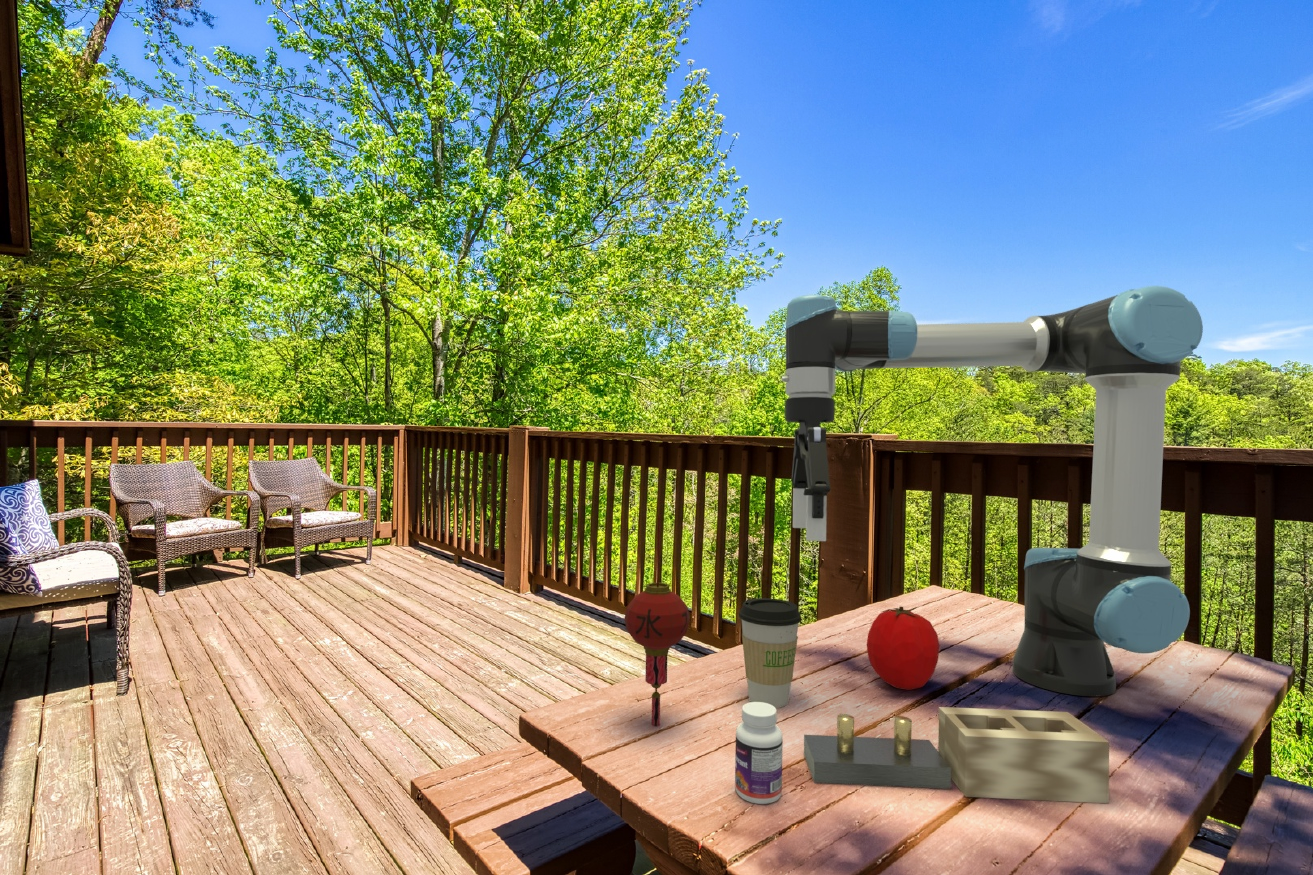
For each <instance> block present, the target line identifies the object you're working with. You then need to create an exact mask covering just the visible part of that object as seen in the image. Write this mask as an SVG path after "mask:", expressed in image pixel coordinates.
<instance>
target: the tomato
mask: <svg viewBox="0 0 1313 875" xmlns="http://www.w3.org/2000/svg"><path fill="white" fill-rule="evenodd" d="M917 608H918V606H915V607H913V608H911V609H904V606H899V607H895V608H891V609H890V608H889V609H885V610H883V611H881V612H879V614H878V615H877V616H876V618H874V620H873V622H872V623H871V626H870V629H869V630H868V633H867V640H866V651H867V657H868V659H869V662H870V665H871V667H872V669H873V670H874V672H875V673H876V674H877V676H878V677H880V679H882V680H883V681H884V682H885V683H887V684H888V685H890V686H892V687H894V688H896V689H901V690H906V691H911V690H915V689H919V688H923V687H924V686H925V685H926V683H928V682H929V680H930V679H931V677H932V676H933V675H934V673H935V671H936V667H937V665H938V663H939V654H940V642H939V636H938V633H937V631H936V629H935V628H934V626H933V625H932V623H931V621H930V620H928V619H927V618H925V617H923V616H921V615H920V614H918V613H915V612H912V611H914V610H915V609H917Z"/></svg>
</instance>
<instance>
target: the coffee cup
mask: <svg viewBox="0 0 1313 875" xmlns="http://www.w3.org/2000/svg"><path fill="white" fill-rule="evenodd" d="M738 618H739V619H740V620H741V629H742V631H741V638H742V639H741V640H742V649H743V660H744V668H745V677H746V679H747V680H746V682H747V690H748V691H747V692H748V693H747V694H748V700H749V702H764V703H768V704H770V705H772V706H774V707H775V708H776V709H778V708H783V707H786V706H787V705H788V704H789V700H790V695H791V694H790V692H791V684H792V681H793V676H794V668H795V663H796V662H795V661H796V655H797V646H798V629H799V628H798V627H799V624H800V623H801V622H802V615H801V613H800V612H799V608H798V605H797V604H796V603H794V602H791V601H789V600H784V599H781V598H780V599H779V598H768V597H767V598H766V597H764V598H763V597H762V598H761V597H759V598H758V597H757V598H750V599H747V600H745V601H743V603H742V607H741V608H740V610H739V611H738Z"/></svg>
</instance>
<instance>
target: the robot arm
mask: <svg viewBox="0 0 1313 875" xmlns="http://www.w3.org/2000/svg"><path fill="white" fill-rule="evenodd" d="M786 307H787V308H786V319H785V320H786V321H785V328H784V331H785V374H786V375H782V376H781V382H783V383H784V382H785V395H786V396H788V397H789V398H786V400H784V421H786V422H787V423H794V424H795V423H797V424H799V426H798V428H795V429H794V433H793V434H794V446H793V458H792V459H793V460H792V467H791V468H792V470H791V478H790V481H791V484H792V487H793V489H792V528H794V529H805V530H806V531H805V533H806V535H805V540H806V541H807V542H826V541H827V505H828V504H827V501H828V500H827V496H828V493H830V491H831V488H832V487H831V485H830V484H831V483H830V471H829V462H828V460H829V459H828V450H827V429H826V428H827V427H826V426H825V427H824V426H821V424H826V423H827V424H828V423H833V422H834V421H835V413H836V412H835V410H836V409H835V408H836V407H835V405H836V404H835V400H834V398H832V396H833V395H835V394H836V371H839V372H854V371H856V370H872V369H873V370H874V369H875V370H876V369H906V368H907V369H912V368H922V369H923V368H960V367H961V368H966V367H968V368H969V367H971V368H972V367H975V368H977V367H978V368H979V367H1022V369H1023V370H1024V371H1026V372H1055V373H1073V374H1084V377H1085V378H1084V380H1085V382H1087V383H1088V384H1089V385H1090V386H1091V387H1092V388H1093V389H1094V390H1095V409H1094V412H1095V413H1094V430H1093V452H1092V469H1091V470H1092V471H1091V472H1092V473H1091V490H1090V491H1091V494H1090V510H1089V512H1090V515H1089V516H1090V518H1089V533H1088V534H1089V535H1088V542H1087V544H1085V545H1084V546H1082V547H1081V548H1070V547H1069V548H1067V547H1065V548H1063V547H1033V548H1030V549H1028V550H1027V551H1026V554H1025V561H1024V566H1023V570H1024V629H1023V632H1022V635H1021V638H1020V640H1019V643H1018V645H1017V648H1016V650H1015V653H1014V655H1013V657H1012V672H1013V674H1014V676H1015V677H1016V678H1018V679H1020V680H1022V681H1023V682H1025V683H1028V684H1030V685H1033V686H1036V687H1039V688H1041V689H1044V690H1049V691H1051V692H1057V693H1060V694H1066V695H1071V696H1072V695H1073V696H1079V697H1081V696H1082V697H1105V696H1109V695H1112V694H1115V692H1116V691H1117V688H1116V687H1117V678H1116V673H1115V671H1114V668H1113V665H1112V662H1111V659H1110V656H1109V652H1108V651H1107V648H1106V645H1105V644H1107V645H1109V646H1111V647H1114V648H1115V649H1116V648H1117V649H1122V650H1125V651H1126V652H1127V651H1128V652H1130V653H1135V654H1153V653H1156V652H1161V651H1163V650H1166V649H1167V648H1169V647H1170V645H1171V644H1172V643H1175V642H1177V641H1178V640H1179V639H1180V637H1182V635H1183V634H1184V633H1185V631H1186V629H1187V627H1188V624H1189V620H1190V614H1191V610H1190V608H1191V607H1190V604H1189V601H1188V598H1187V596H1186V595H1185V594H1184V593H1183V592H1182V591H1181V588H1180V587H1178V586H1177V585H1176V584H1174V583H1173V582H1172V581H1171V579H1172V578H1171V576H1172V572H1171V571H1172V562H1171V561H1170V560H1169V559H1168V558H1167V557H1166V556H1165V555H1164V554H1163V553H1162V552H1161V551H1160V549H1159V548H1160V547H1159V546H1160V529H1161V528H1160V524H1161V506H1162V503H1161V502H1162V482H1163V481H1162V480H1163V462H1164V461H1163V460H1164V459H1163V458H1164V443H1165V441H1164V439H1165V438H1164V436H1165V435H1164V434H1165V420H1166V419H1165V418H1166V399H1167V398H1166V396H1167V395H1166V394H1167V390H1168V389H1169V388H1170V387H1171V386H1173V385H1174V384H1175V383H1176V382H1177V381H1178V380H1180V375H1181V361H1184V360H1185V359H1186V358H1188V357H1189V356H1190V355H1191V354H1192V353H1193V351H1194V350H1197V348H1198V346H1199V345H1200V344H1201V343H1200V342H1201V340H1202V338H1203V331H1204V330H1203V320H1202V319H1203V318H1202V316H1201V313H1200V312H1199V310H1198V308H1197V307H1196V305H1195V304H1194V303H1193V301H1192V300H1188V299H1187V298H1186V295H1184V294H1183V293H1182V292H1180V291H1179V290H1176V289H1174V288H1170V287H1168V286H1167V287H1166V286H1159V285H1150V286H1144V287H1140V288H1133V289H1129V290H1125V291H1122V292H1120V293H1119V294H1116V295H1113V296H1111V297H1107V298H1104V299H1101V300H1098V301H1095V302H1092V303H1088V304H1085V305H1083V306H1079V307H1077V308H1073V309H1070V310H1066V311H1062V312H1058V313H1053V314H1047V315H1031V316H1029V317H1027V318H1026V319H1025V320H1024V321H1023V322H1022V321H1020V322H1019V321H1017V322H1014V321H1013V322H976V323H975V322H974V323H973V322H972V323H966V322H965V323H934V324H933V323H931V324H930V323H929V324H917V321H916V318H915V316H914V315H913V314H912V313H910V312H908V311H899V310H898V311H897V310H895V311H894V310H892V309H889V310H851V311H850V310H841V309H838V307H837V304H836V299H835V298H834V297H832V296H831V295H823V294H806V295H800V296H797V297H794V298H792V299H791V300H790V301H789V303H787V306H786Z"/></svg>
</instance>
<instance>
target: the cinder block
mask: <svg viewBox="0 0 1313 875" xmlns="http://www.w3.org/2000/svg"><path fill="white" fill-rule="evenodd" d="M937 738H938V740H937V741H938V744H937V748H938V749H937V751H938V752H939V753H940V754H941V756H942V757H943V758H944V759H945V761H946V762H947V763H948V765H949V766H950V767H951V781H952V782H953V783H954V784H955V785H956V787H957V788H958V789H959V791H960V793H962V795H963V797H967V798H982V799H983V798H987V799H1008V800H1027V801H1048V802H1051V801H1053V802H1070V803H1071V802H1073V803H1088V804H1089V803H1091V804H1092V803H1093V804H1109V796H1110V794H1109V793H1110V792H1109V791H1110V790H1109V789H1110V787H1109V786H1110V741H1108V739H1105V737H1103V736H1102V735H1101V734H1099V733H1098V732H1096V731H1095V730H1093V729H1092V728H1090V727H1089V726H1088V725H1087V724H1085V723H1083V722H1082V721H1081V720H1080V719H1078V717H1077V718H1076V717H1075V716H1074V715H1072V714H1071V713H1070V712H1068V711H1053V710H1052V711H1049V710H1027V709H1021V710H1020V709H1000V708H999V709H997V708H975V707H974V708H973V707H972V708H971V707H950V706H949V707H948V706H947V707H946V706H939V707H938V737H937Z"/></svg>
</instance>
